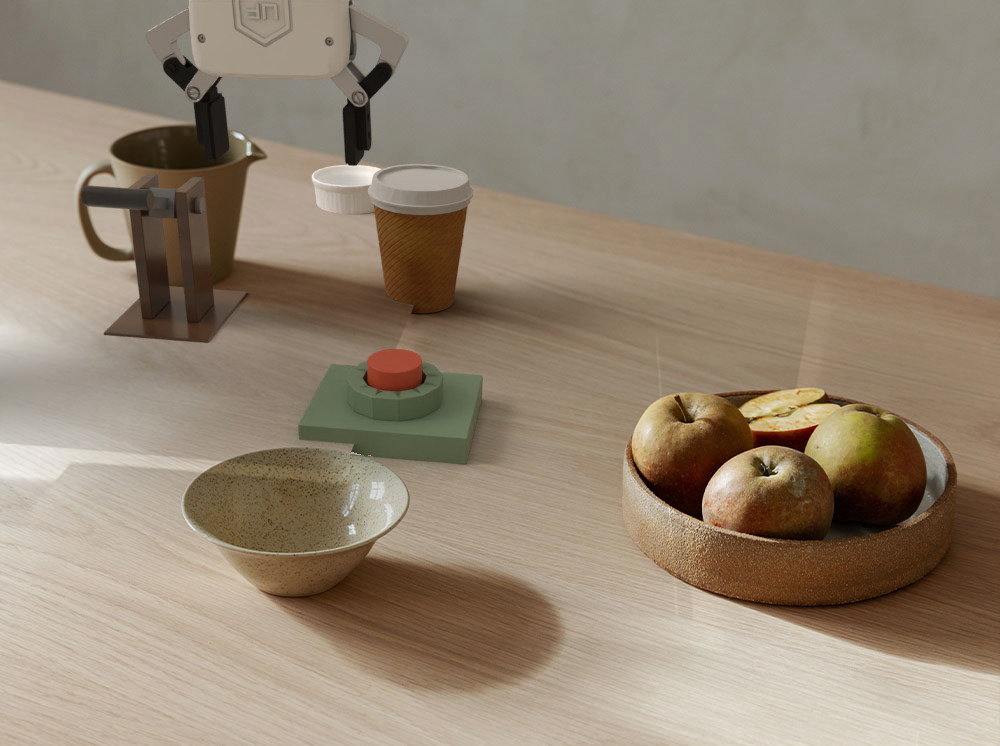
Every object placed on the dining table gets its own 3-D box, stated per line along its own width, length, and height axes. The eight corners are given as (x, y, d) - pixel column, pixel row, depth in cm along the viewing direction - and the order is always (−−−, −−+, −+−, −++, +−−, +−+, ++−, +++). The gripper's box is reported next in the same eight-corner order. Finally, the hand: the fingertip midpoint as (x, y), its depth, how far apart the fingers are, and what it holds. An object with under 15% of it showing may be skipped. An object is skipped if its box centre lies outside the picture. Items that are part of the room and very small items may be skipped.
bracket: (209, 353, 92) (196, 206, 87) (104, 345, 93) (85, 198, 87) (248, 303, 102) (239, 168, 96) (153, 296, 103) (139, 161, 97)
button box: (299, 451, 79) (296, 401, 77) (331, 388, 88) (330, 342, 86) (466, 465, 78) (467, 415, 76) (482, 399, 87) (483, 354, 85)
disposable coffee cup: (490, 299, 105) (494, 176, 100) (427, 329, 98) (428, 199, 93) (414, 274, 110) (414, 156, 105) (348, 302, 103) (345, 177, 98)
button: (362, 391, 79) (361, 370, 79) (373, 367, 83) (373, 346, 82) (417, 396, 79) (417, 374, 78) (426, 371, 83) (426, 350, 82)
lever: (145, 215, 82) (146, 183, 82) (80, 211, 82) (81, 179, 82) (202, 220, 94) (203, 191, 94) (145, 216, 94) (146, 188, 94)
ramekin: (299, 217, 125) (297, 180, 123) (333, 195, 132) (332, 160, 130) (371, 227, 122) (371, 189, 121) (402, 205, 130) (402, 169, 128)
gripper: (105, -112, 66) (143, 169, 73) (392, -108, 64) (401, 178, 72) (151, -118, 72) (182, 140, 80) (412, -114, 71) (419, 148, 79)
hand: (286, 158), depth 76 cm, fingers open, 9 cm apart
